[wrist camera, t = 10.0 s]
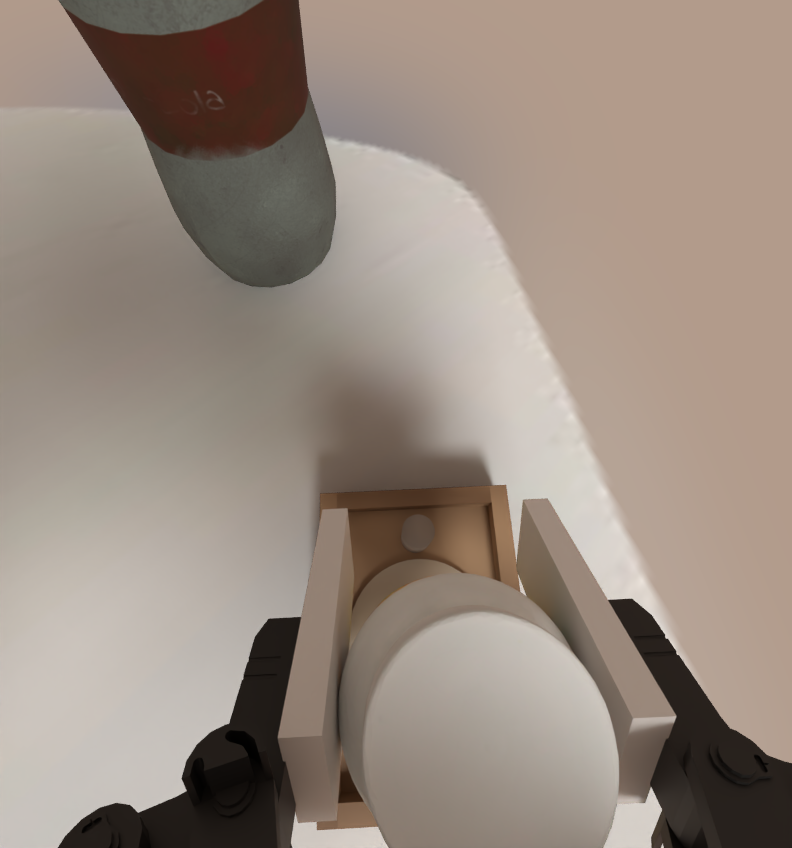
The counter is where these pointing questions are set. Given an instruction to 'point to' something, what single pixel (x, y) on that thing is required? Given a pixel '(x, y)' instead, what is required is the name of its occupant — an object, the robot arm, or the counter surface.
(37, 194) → the counter surface
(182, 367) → the counter surface
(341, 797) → the pin tray
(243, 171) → the vodka
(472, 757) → the supplement bottle
